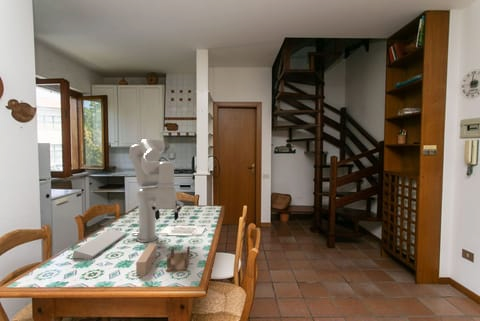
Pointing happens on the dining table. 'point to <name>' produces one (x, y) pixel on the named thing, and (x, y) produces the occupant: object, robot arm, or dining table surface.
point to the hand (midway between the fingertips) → (166, 219)
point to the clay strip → (146, 259)
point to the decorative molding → (98, 244)
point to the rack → (178, 261)
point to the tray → (183, 230)
